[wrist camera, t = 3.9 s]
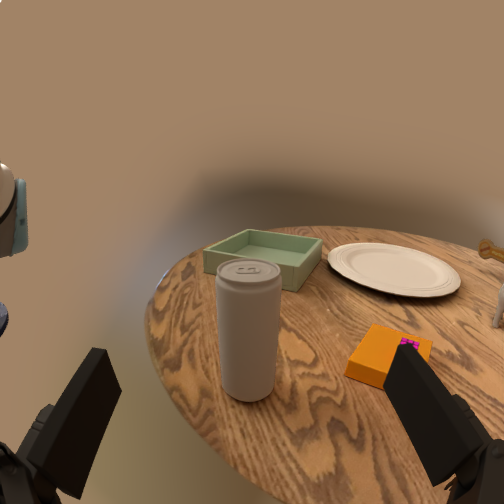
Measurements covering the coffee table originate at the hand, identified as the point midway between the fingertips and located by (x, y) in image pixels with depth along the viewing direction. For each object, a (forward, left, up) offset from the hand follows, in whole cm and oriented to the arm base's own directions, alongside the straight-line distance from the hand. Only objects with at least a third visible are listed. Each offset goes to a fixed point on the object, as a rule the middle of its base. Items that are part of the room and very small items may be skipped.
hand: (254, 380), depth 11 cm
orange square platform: (+8, +17, -11) cm, 22 cm away
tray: (-16, +39, -11) cm, 43 cm away
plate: (+9, +47, -11) cm, 49 cm away
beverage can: (-5, +9, -11) cm, 15 cm away
